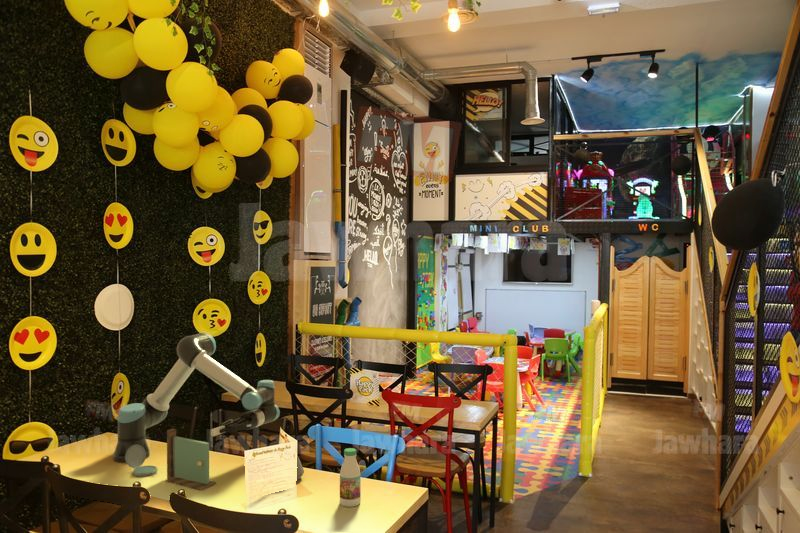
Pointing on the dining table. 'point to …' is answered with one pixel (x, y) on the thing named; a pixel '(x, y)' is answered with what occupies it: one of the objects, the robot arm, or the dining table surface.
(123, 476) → the dining table surface
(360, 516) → the dining table surface
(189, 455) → the door
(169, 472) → the door frame
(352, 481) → the milk bottle
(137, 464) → the pocket watch
